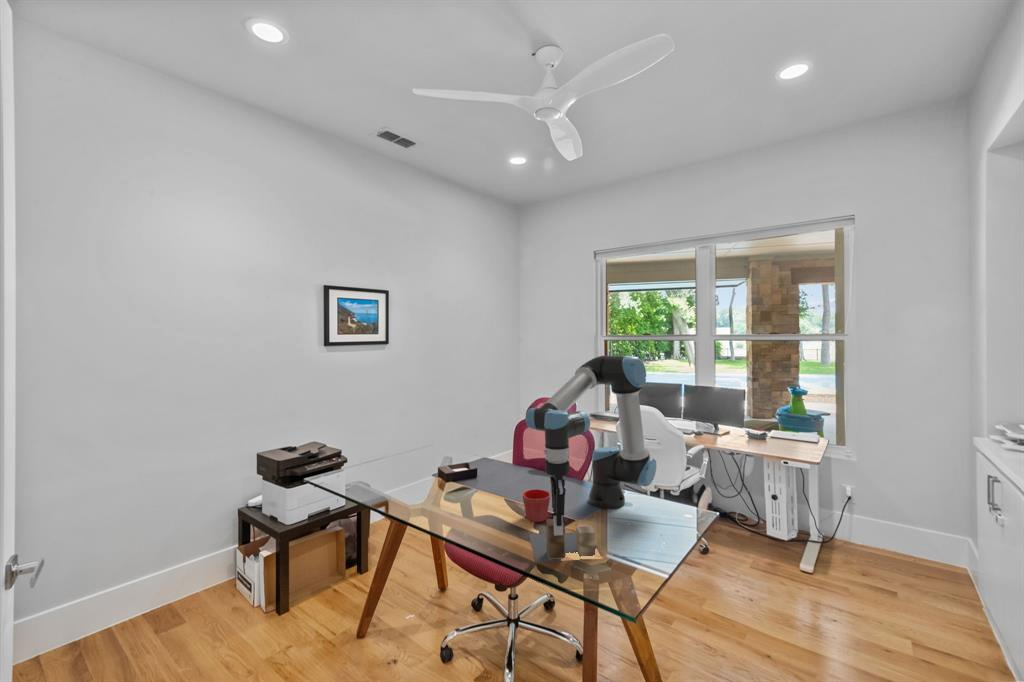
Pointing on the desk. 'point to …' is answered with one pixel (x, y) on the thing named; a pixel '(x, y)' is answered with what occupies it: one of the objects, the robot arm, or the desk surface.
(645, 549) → the desk surface
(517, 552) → the desk surface
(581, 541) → the grey beige upright block
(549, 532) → the grey brown block
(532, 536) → the mat
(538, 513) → the flower pot
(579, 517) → the desk surface
